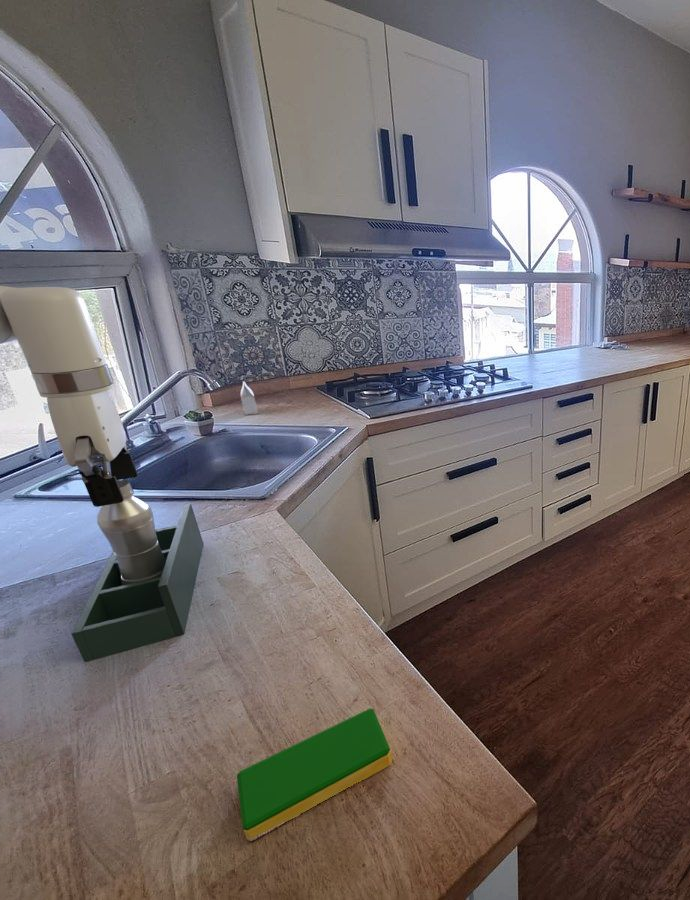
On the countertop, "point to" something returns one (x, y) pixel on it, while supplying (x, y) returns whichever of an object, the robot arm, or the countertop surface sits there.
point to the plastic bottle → (132, 537)
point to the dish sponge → (311, 772)
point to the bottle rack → (143, 597)
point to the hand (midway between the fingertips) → (117, 490)
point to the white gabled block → (248, 400)
